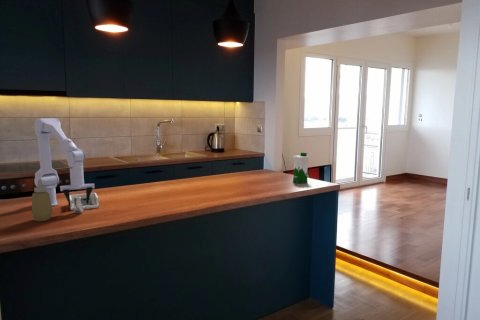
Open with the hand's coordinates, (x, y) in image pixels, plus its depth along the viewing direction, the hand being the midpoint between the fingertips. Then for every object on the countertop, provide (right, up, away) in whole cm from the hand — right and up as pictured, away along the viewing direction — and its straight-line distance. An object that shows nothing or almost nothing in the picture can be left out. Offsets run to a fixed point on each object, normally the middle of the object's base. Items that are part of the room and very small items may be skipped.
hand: (78, 204), depth 172 cm
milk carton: (+117, +5, +75) cm, 139 cm away
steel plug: (0, -4, +1) cm, 4 cm away
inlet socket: (-2, -2, +11) cm, 12 cm away
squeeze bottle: (-11, -6, -11) cm, 17 cm away
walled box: (-2, -2, +11) cm, 12 cm away
